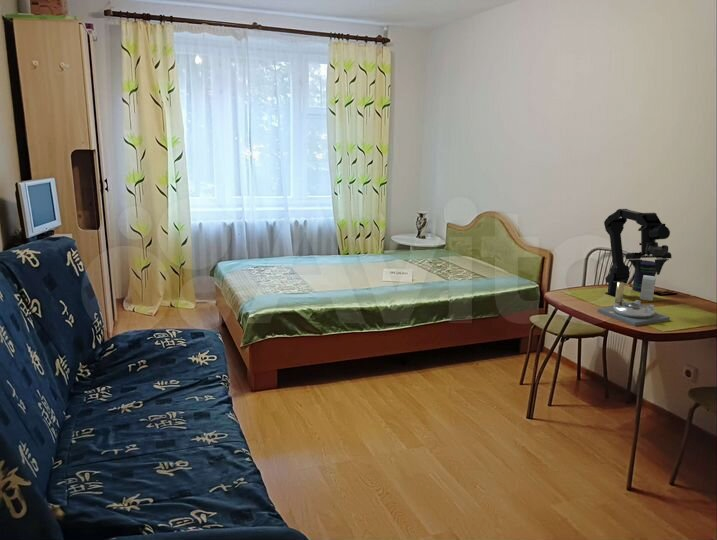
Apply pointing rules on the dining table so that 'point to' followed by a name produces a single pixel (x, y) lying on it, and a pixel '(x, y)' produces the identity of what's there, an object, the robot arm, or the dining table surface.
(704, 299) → the dining table surface
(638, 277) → the storage jar
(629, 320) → the housing plate
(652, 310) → the metal disc with post
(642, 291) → the small box
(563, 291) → the dining table surface
